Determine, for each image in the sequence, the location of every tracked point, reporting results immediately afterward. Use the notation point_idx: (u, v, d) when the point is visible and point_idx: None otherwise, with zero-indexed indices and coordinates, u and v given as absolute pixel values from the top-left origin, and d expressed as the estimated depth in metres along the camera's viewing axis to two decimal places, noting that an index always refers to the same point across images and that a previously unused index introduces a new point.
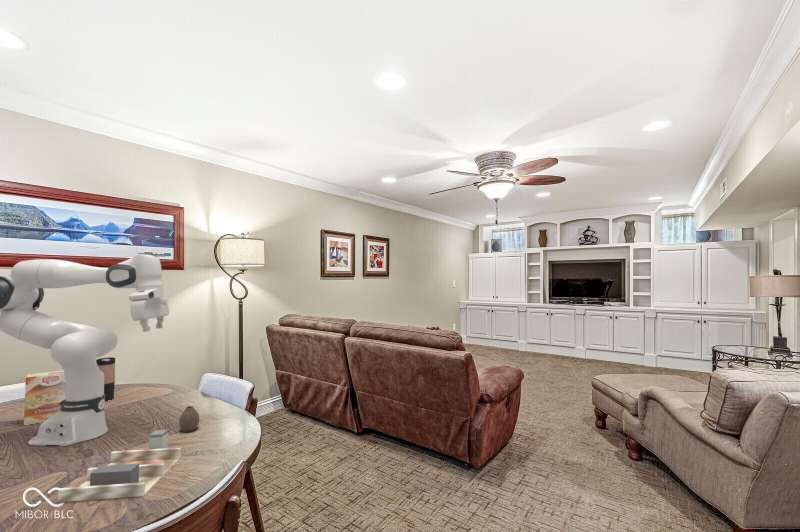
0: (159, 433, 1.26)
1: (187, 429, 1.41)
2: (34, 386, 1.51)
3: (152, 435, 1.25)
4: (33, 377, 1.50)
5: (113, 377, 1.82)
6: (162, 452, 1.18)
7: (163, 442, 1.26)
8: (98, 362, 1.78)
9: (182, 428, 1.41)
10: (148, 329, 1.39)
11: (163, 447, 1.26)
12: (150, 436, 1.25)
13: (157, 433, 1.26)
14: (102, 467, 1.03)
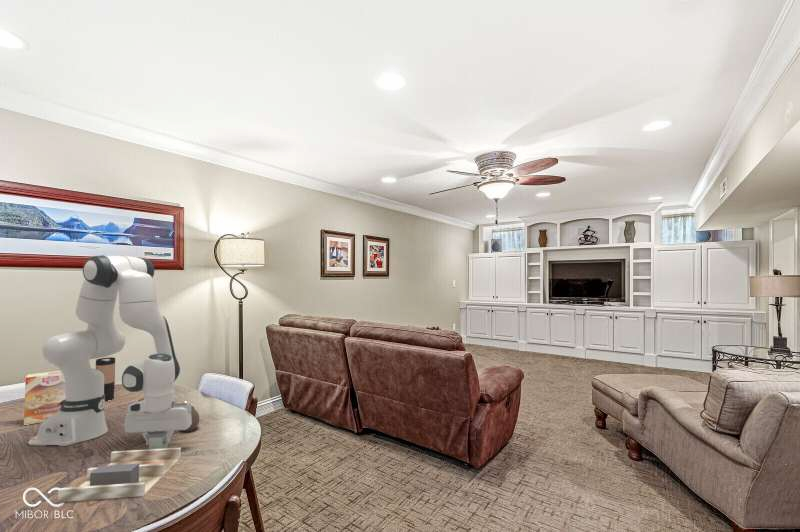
0: (159, 433, 1.26)
1: (187, 429, 1.41)
2: (34, 386, 1.51)
3: (152, 435, 1.25)
4: (33, 377, 1.50)
5: (113, 377, 1.82)
6: (162, 452, 1.18)
7: None
8: (98, 362, 1.78)
9: None
10: (148, 443, 1.26)
11: (163, 447, 1.26)
12: (150, 436, 1.25)
13: (157, 433, 1.26)
14: (102, 467, 1.03)
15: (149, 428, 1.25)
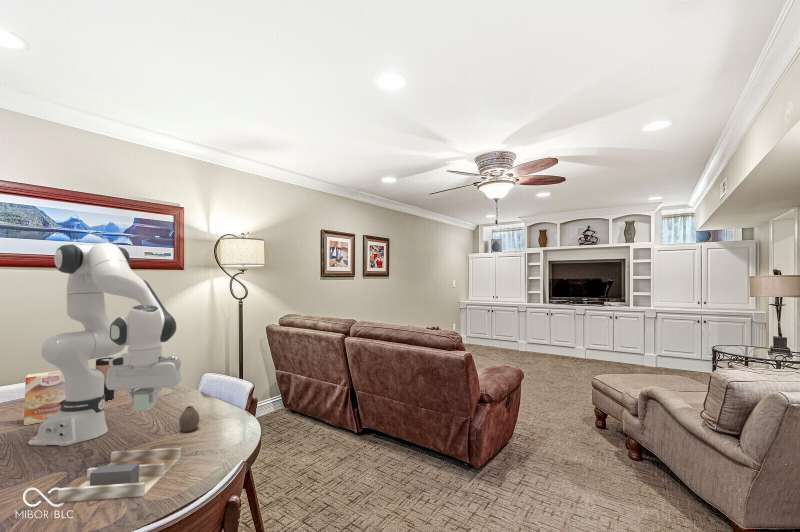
0: (145, 390, 1.15)
1: (187, 429, 1.41)
2: (34, 386, 1.51)
3: (137, 392, 1.14)
4: (33, 377, 1.50)
5: None
6: (162, 452, 1.18)
7: (149, 400, 1.15)
8: (98, 362, 1.78)
9: (182, 428, 1.41)
10: (132, 401, 1.15)
11: (149, 405, 1.15)
12: (135, 393, 1.14)
13: (143, 390, 1.15)
14: (102, 467, 1.03)
15: (134, 384, 1.14)
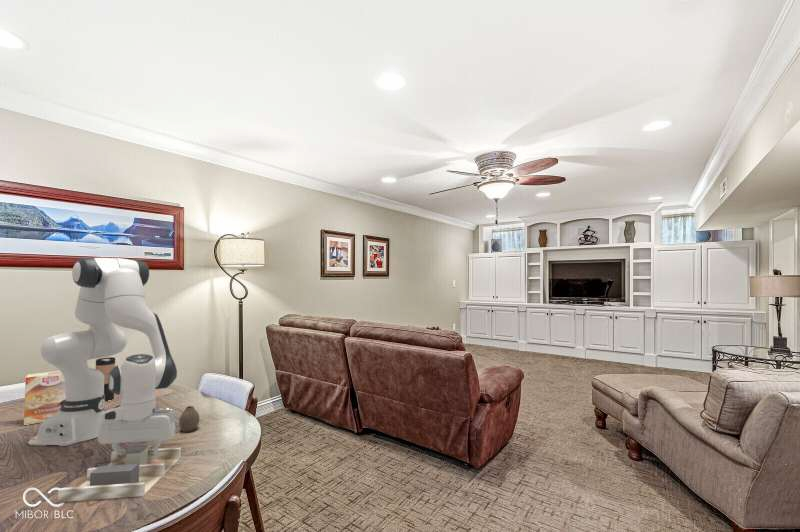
0: (137, 448, 1.12)
1: (187, 429, 1.41)
2: (34, 386, 1.51)
3: (129, 451, 1.11)
4: (33, 377, 1.50)
5: None
6: (162, 452, 1.18)
7: (141, 458, 1.12)
8: (98, 362, 1.78)
9: (182, 428, 1.41)
10: (117, 455, 1.11)
11: (142, 464, 1.12)
12: (127, 452, 1.10)
13: (135, 448, 1.12)
14: (102, 467, 1.03)
15: (126, 439, 1.11)
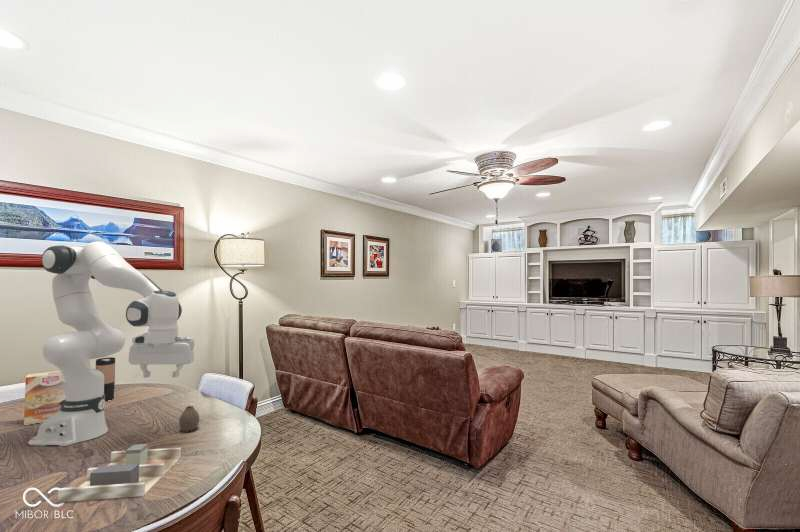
0: (137, 448, 1.12)
1: (187, 429, 1.41)
2: (34, 386, 1.51)
3: (129, 451, 1.11)
4: (33, 377, 1.50)
5: (113, 377, 1.82)
6: (162, 452, 1.18)
7: (141, 458, 1.12)
8: (98, 362, 1.78)
9: (182, 428, 1.41)
10: (145, 375, 1.29)
11: (142, 464, 1.12)
12: (127, 452, 1.10)
13: (135, 448, 1.12)
14: (102, 467, 1.03)
15: (153, 361, 1.28)
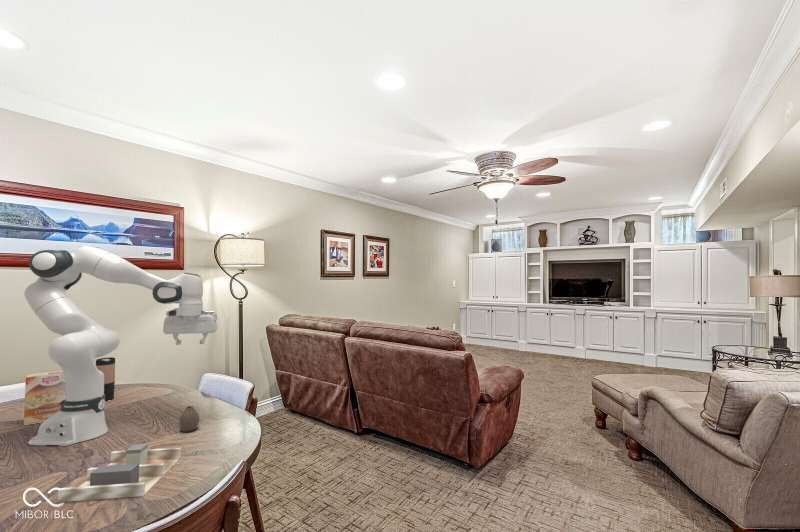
0: (137, 448, 1.12)
1: (187, 429, 1.41)
2: (34, 386, 1.51)
3: (129, 451, 1.11)
4: (33, 377, 1.50)
5: (113, 377, 1.82)
6: (162, 452, 1.18)
7: (141, 458, 1.12)
8: (98, 362, 1.78)
9: (182, 428, 1.41)
10: (177, 343, 1.55)
11: (142, 464, 1.12)
12: (127, 452, 1.10)
13: (135, 448, 1.12)
14: (102, 467, 1.03)
15: (183, 330, 1.55)
